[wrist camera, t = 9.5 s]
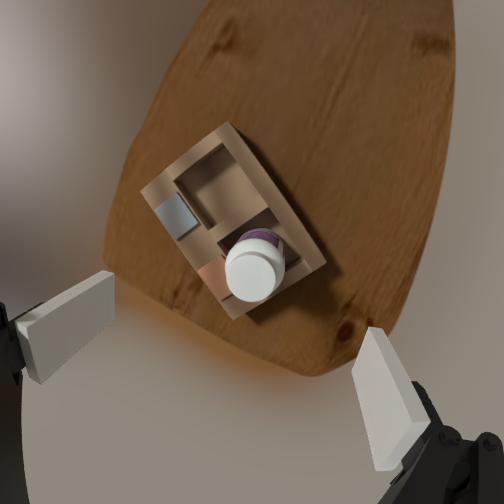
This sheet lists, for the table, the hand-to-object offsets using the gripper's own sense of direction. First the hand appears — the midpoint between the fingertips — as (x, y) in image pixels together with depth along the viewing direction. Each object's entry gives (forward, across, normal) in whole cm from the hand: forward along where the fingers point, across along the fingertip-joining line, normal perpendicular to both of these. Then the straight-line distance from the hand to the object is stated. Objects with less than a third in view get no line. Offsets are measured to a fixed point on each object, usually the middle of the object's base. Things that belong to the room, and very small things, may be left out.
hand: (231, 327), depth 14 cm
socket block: (+20, -4, +2) cm, 21 cm away
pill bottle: (+19, 0, -1) cm, 19 cm away
